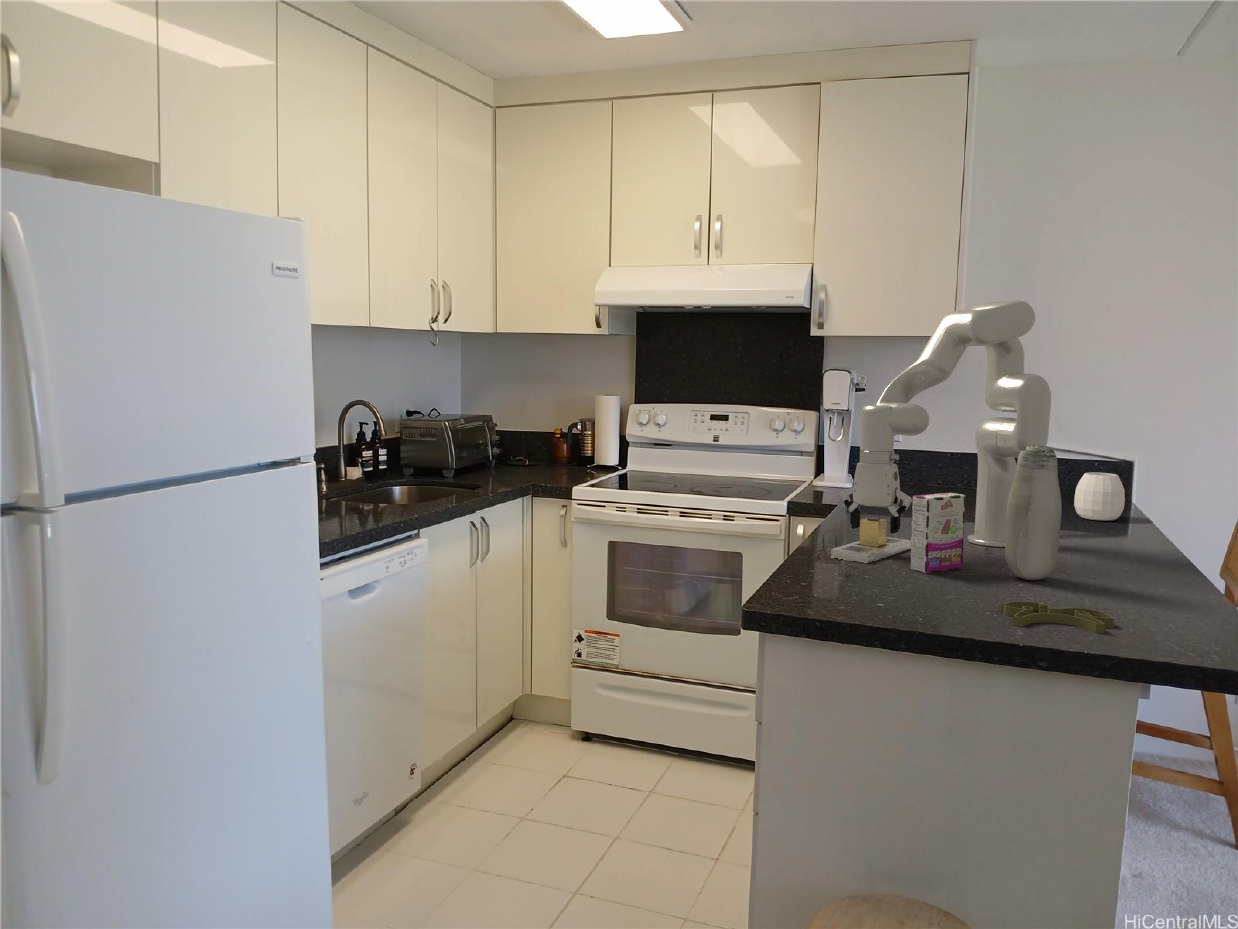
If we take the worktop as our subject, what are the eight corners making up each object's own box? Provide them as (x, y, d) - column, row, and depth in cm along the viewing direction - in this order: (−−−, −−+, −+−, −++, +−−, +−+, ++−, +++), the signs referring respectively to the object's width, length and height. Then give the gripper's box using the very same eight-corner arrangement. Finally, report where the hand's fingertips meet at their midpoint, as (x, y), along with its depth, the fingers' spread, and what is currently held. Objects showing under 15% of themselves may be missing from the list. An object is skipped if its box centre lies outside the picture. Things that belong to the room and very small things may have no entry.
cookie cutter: (1001, 627, 156) (1001, 615, 156) (995, 609, 167) (996, 598, 167) (1119, 637, 151) (1119, 626, 150) (1104, 619, 162) (1105, 608, 162)
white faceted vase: (1075, 521, 267) (1078, 475, 265) (1071, 514, 279) (1074, 470, 277) (1126, 524, 262) (1129, 477, 260) (1120, 517, 274) (1123, 473, 272)
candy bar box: (945, 565, 203) (949, 492, 202) (963, 569, 199) (967, 494, 197) (908, 569, 198) (911, 494, 196) (925, 574, 194) (929, 497, 192)
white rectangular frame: (910, 548, 222) (911, 540, 221) (867, 563, 203) (867, 554, 203) (875, 543, 227) (876, 535, 227) (830, 557, 209) (830, 549, 209)
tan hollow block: (885, 553, 216) (886, 518, 215) (877, 556, 212) (878, 520, 211) (867, 550, 219) (868, 515, 218) (858, 553, 215) (860, 518, 214)
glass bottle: (1053, 586, 184) (1062, 448, 181) (999, 580, 189) (1007, 445, 186) (1059, 577, 192) (1068, 445, 189) (1007, 571, 198) (1015, 442, 195)
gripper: (919, 459, 210) (916, 532, 212) (849, 454, 222) (848, 524, 224) (905, 461, 205) (903, 537, 207) (835, 457, 216) (833, 528, 218)
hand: (874, 530), depth 215 cm, fingers open, 9 cm apart
